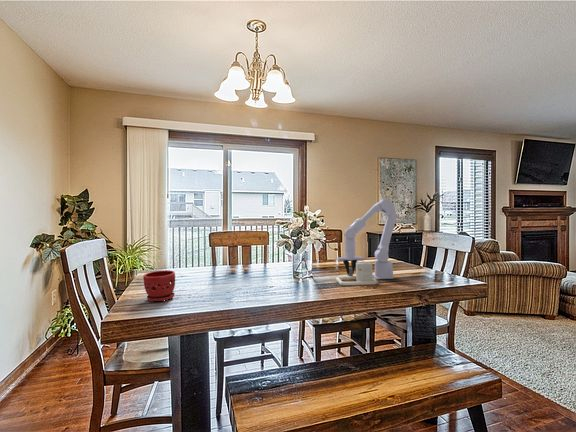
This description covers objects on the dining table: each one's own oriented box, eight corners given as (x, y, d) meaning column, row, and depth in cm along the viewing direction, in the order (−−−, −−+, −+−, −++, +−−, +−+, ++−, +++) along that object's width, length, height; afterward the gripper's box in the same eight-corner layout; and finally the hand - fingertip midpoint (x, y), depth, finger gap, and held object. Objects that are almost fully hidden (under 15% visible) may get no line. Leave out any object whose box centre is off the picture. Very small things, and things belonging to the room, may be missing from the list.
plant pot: (152, 295, 152) (151, 270, 152) (180, 295, 152) (179, 270, 151) (138, 304, 139) (137, 276, 139) (168, 304, 139) (168, 276, 138)
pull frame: (366, 275, 186) (366, 267, 186) (378, 284, 167) (378, 274, 166) (332, 276, 185) (332, 268, 185) (341, 285, 165) (340, 275, 165)
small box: (371, 281, 174) (371, 261, 174) (372, 284, 168) (372, 263, 168) (355, 281, 175) (355, 261, 174) (357, 283, 169) (356, 263, 169)
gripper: (360, 248, 188) (360, 271, 189) (335, 249, 187) (336, 272, 188) (364, 250, 181) (364, 274, 182) (338, 250, 180) (338, 275, 181)
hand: (350, 273), depth 184 cm, fingers closed on pull frame, 2 cm apart
